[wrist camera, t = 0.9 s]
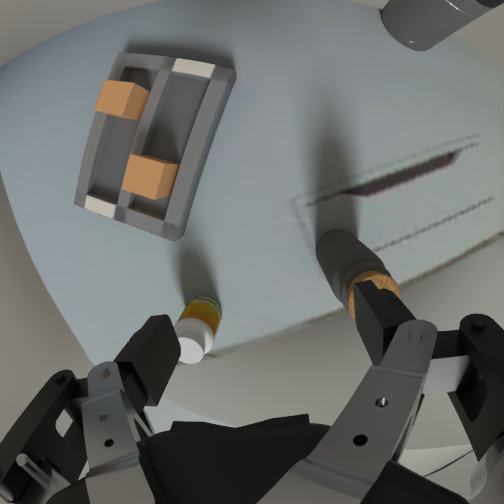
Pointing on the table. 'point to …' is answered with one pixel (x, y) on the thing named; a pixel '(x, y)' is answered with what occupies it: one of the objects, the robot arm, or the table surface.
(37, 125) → the table surface
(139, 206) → the tray
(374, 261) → the bottle
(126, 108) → the tan square block
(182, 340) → the supplement bottle
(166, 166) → the orange rectangular block
